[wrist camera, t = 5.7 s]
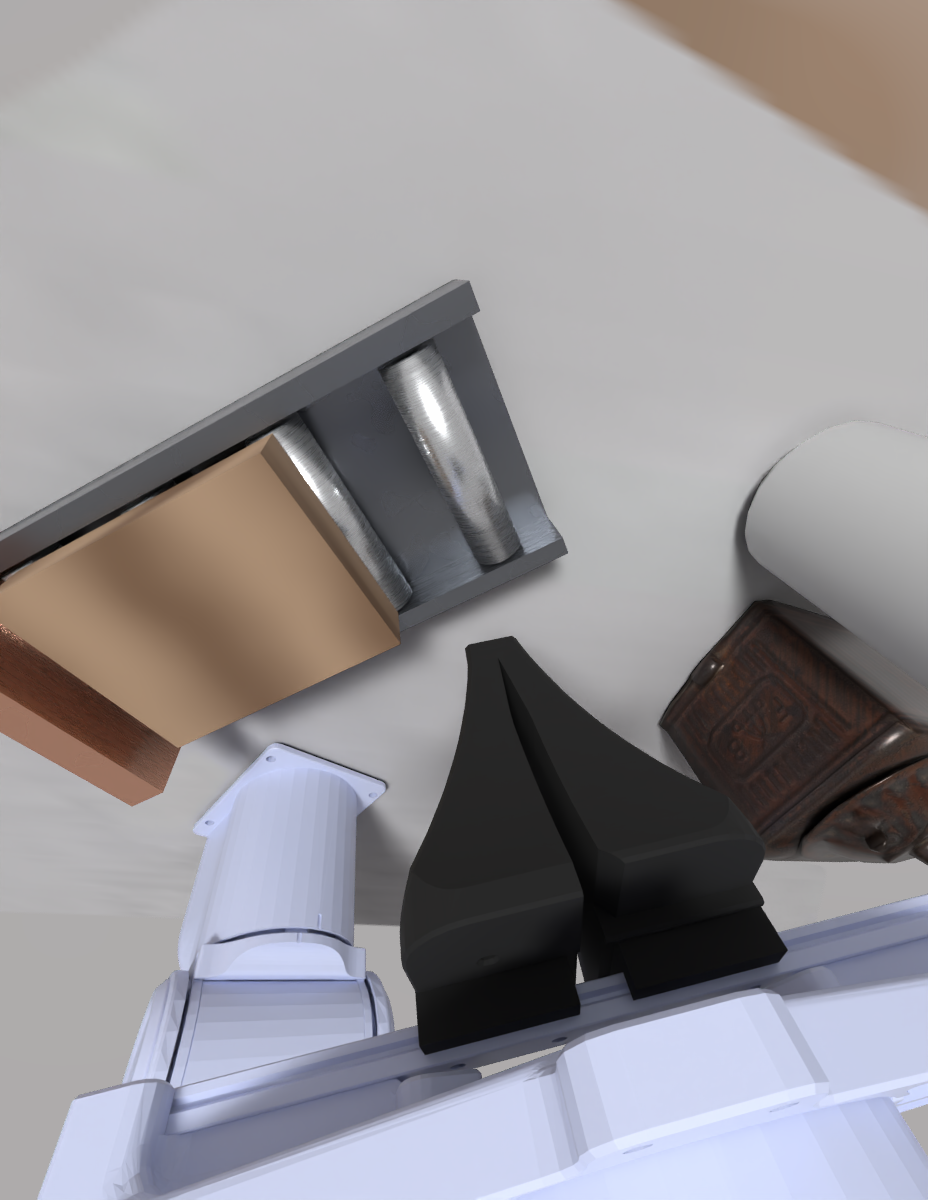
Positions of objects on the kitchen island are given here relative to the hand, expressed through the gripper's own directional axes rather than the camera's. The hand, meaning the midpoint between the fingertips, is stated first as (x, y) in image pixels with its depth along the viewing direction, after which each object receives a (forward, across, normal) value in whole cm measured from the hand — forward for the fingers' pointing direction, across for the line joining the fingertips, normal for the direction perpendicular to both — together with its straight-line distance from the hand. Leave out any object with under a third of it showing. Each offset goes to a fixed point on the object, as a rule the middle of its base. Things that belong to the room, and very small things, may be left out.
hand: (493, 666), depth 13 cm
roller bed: (+9, +7, -1) cm, 11 cm away
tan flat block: (+6, +9, 0) cm, 11 cm away
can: (+10, -18, +2) cm, 20 cm away
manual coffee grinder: (+10, -17, +17) cm, 26 cm away
